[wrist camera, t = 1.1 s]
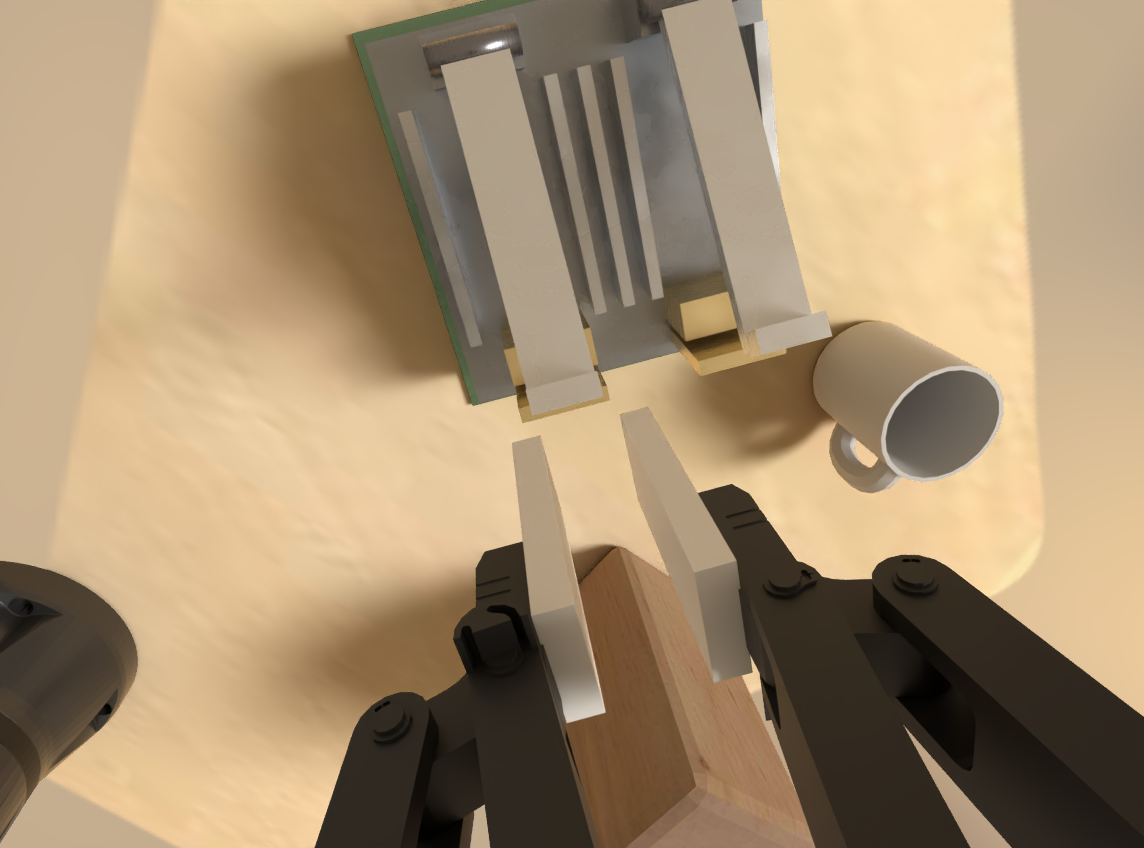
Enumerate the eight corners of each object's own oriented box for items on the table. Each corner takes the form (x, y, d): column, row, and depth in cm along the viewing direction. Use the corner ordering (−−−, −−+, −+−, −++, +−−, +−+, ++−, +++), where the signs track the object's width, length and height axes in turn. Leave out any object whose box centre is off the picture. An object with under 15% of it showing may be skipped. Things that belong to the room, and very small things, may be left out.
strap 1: (522, 418, 28) (519, 418, 25) (425, 54, 27) (413, 20, 25) (611, 394, 28) (616, 393, 25) (516, 32, 27) (512, -5, 25)
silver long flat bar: (732, 363, 28) (749, 358, 25) (639, 1, 27) (647, -39, 25) (820, 339, 28) (845, 333, 26) (728, -22, 28) (744, -63, 25)
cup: (930, 337, 45) (1028, 387, 37) (856, 462, 49) (931, 532, 41) (843, 303, 43) (926, 348, 35) (772, 436, 47) (833, 504, 39)
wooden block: (616, 536, 49) (699, 786, 31) (710, 597, 52) (832, 852, 35) (531, 625, 51) (561, 904, 33) (626, 678, 55) (699, 954, 37)
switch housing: (472, 404, 43) (472, 484, 34) (352, 34, 34) (307, 7, 24) (772, 325, 43) (852, 383, 34) (736, -62, 34) (833, -124, 25)
